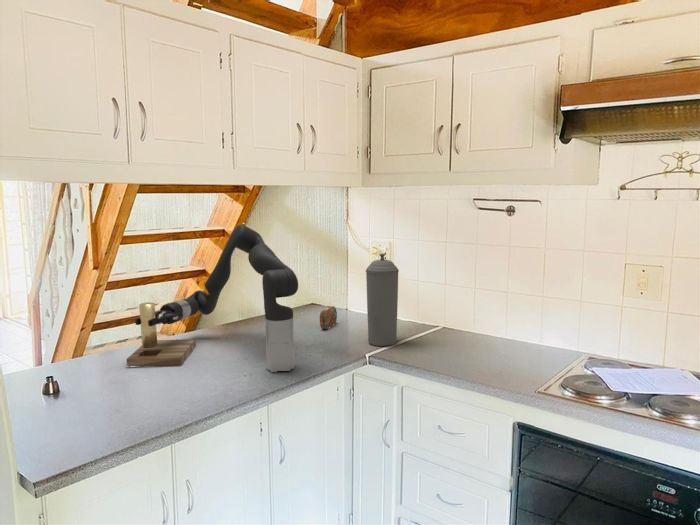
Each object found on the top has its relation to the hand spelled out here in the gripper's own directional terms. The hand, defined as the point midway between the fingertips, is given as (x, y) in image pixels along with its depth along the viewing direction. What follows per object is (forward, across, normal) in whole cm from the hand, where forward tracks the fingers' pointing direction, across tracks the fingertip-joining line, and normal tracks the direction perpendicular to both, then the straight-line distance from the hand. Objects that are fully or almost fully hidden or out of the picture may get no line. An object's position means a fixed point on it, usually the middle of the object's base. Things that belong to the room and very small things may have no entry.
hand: (142, 322), depth 174 cm
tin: (-66, +41, +15) cm, 79 cm away
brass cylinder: (-3, 0, +9) cm, 9 cm away
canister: (-50, +71, +15) cm, 88 cm away
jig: (-8, +1, +15) cm, 17 cm away
